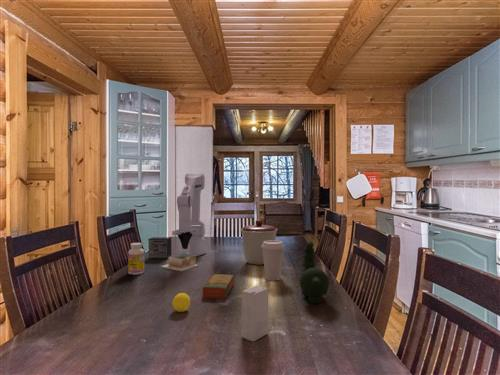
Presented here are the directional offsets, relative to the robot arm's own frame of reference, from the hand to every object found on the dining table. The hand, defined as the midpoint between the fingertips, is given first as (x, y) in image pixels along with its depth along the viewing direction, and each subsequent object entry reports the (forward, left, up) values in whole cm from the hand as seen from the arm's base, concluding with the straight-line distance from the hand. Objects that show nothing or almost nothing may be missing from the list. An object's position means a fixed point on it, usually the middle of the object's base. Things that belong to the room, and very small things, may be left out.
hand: (184, 248), depth 158 cm
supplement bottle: (+22, -8, -8) cm, 24 cm away
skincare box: (+44, +67, -8) cm, 80 cm away
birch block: (-3, 0, -5) cm, 6 cm away
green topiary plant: (+8, +68, -8) cm, 69 cm away
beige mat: (+4, 0, -8) cm, 9 cm away
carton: (+21, +37, -8) cm, 43 cm away
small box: (-4, -22, -8) cm, 24 cm away
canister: (-23, +27, -8) cm, 37 cm away
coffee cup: (-3, +46, -8) cm, 47 cm away
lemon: (+42, +39, -8) cm, 58 cm away
